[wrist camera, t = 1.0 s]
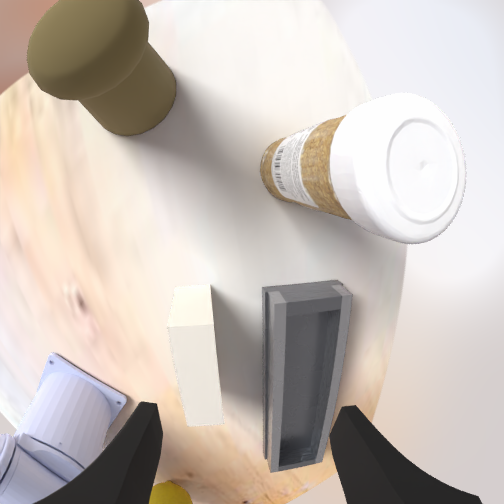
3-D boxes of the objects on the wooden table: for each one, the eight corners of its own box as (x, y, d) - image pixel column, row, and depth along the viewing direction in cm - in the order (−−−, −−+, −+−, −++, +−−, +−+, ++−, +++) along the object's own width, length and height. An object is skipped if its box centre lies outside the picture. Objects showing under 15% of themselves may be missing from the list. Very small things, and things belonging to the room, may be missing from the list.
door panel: (218, 372, 23) (224, 423, 17) (188, 374, 23) (187, 426, 17) (210, 284, 21) (213, 324, 15) (175, 286, 21) (167, 326, 15)
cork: (194, 85, 17) (190, -1, 7) (135, 153, 18) (63, 133, 7) (134, 42, 16) (88, -49, 5) (77, 106, 16) (-16, 62, 6)
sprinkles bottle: (311, 208, 21) (451, 262, 8) (250, 191, 20) (338, 225, 7) (328, 148, 20) (479, 132, 7) (268, 127, 19) (377, 61, 6)
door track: (315, 442, 28) (323, 461, 25) (263, 452, 27) (268, 473, 24) (337, 279, 23) (354, 294, 20) (262, 287, 22) (271, 304, 19)
